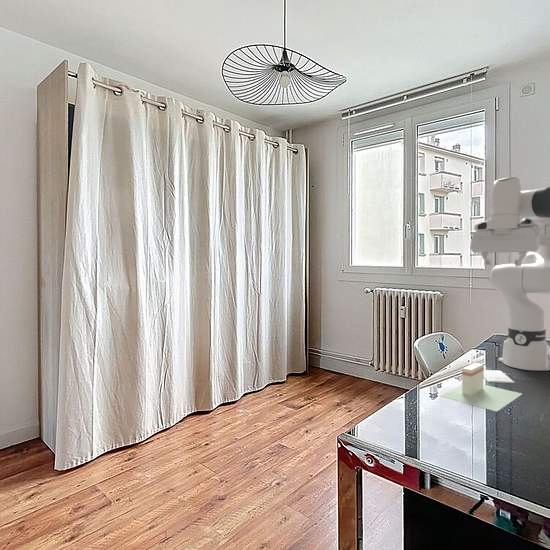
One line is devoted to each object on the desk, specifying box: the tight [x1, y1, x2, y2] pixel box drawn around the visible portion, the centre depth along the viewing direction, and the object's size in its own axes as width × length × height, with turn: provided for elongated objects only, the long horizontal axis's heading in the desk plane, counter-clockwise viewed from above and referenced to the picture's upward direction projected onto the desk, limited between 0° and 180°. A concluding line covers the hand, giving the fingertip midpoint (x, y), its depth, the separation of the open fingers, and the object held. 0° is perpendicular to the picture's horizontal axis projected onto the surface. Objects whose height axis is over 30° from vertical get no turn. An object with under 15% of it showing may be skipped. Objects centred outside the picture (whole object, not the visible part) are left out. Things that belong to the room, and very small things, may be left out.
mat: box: [440, 384, 523, 412], centre depth 120 cm, size 20×16×1 cm
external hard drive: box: [483, 369, 516, 384], centre depth 136 cm, size 2×8×12 cm
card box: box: [461, 362, 485, 396], centre depth 122 cm, size 9×3×8 cm, turn 130°
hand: (502, 265), depth 133 cm, fingers open, 8 cm apart
